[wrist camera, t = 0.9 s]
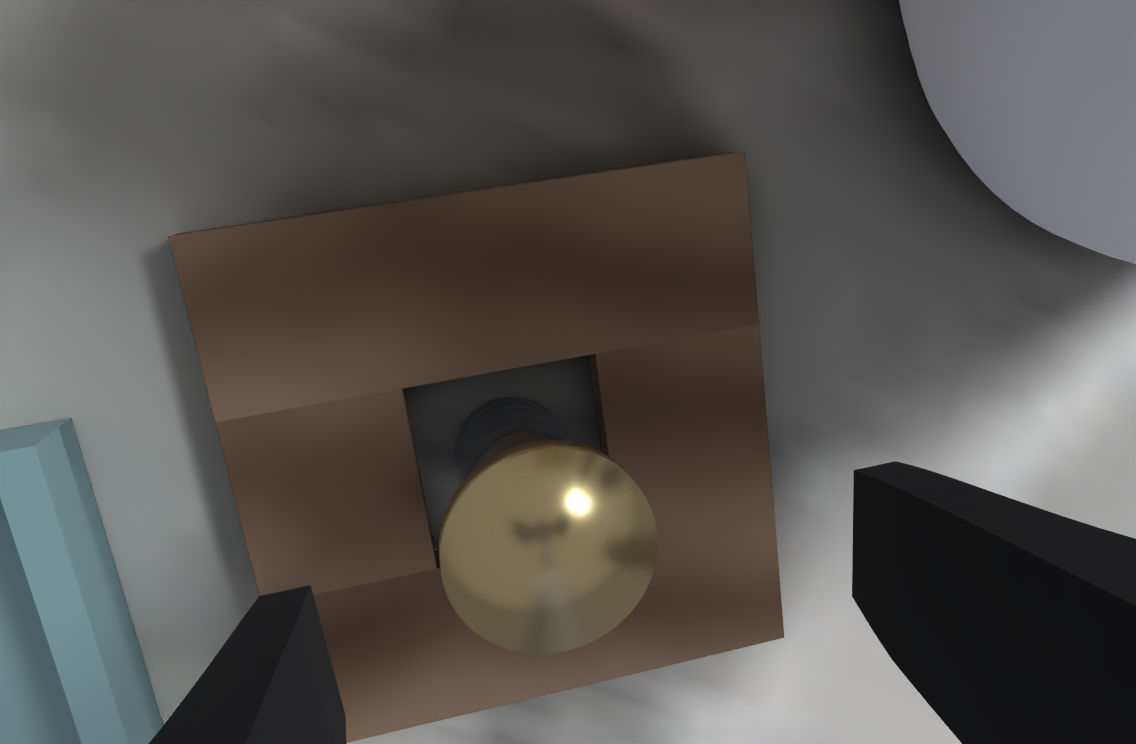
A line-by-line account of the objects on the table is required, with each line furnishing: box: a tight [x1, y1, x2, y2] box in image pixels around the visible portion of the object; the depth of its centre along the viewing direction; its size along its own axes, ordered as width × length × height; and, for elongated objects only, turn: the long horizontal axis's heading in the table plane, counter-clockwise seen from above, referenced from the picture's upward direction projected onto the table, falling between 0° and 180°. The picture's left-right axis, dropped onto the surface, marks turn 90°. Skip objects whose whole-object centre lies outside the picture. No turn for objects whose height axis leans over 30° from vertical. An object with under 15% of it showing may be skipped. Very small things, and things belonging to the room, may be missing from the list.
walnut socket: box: [168, 152, 784, 743], centre depth 23 cm, size 14×14×1 cm
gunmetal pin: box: [439, 397, 658, 654], centre depth 20 cm, size 4×4×7 cm
